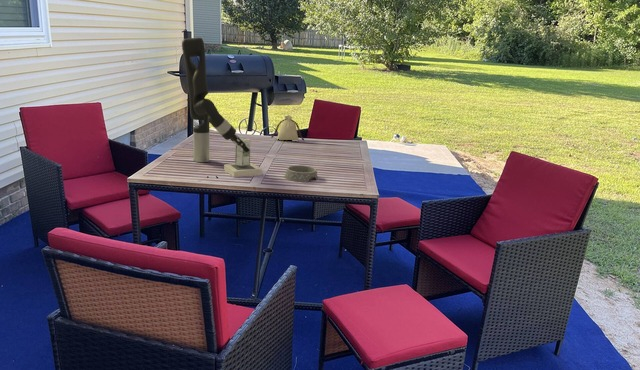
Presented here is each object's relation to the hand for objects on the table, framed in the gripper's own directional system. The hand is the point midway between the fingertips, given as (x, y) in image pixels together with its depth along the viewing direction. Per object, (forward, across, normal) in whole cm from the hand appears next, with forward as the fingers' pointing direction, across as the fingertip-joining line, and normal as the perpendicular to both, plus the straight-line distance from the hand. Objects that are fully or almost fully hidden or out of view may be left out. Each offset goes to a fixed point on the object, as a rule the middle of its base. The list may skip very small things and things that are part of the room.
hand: (245, 149), depth 267 cm
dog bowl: (+27, -19, -9) cm, 34 cm away
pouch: (+53, +78, -35) cm, 100 cm away
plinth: (+8, 0, +10) cm, 13 cm away
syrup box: (+5, 0, +7) cm, 9 cm away
